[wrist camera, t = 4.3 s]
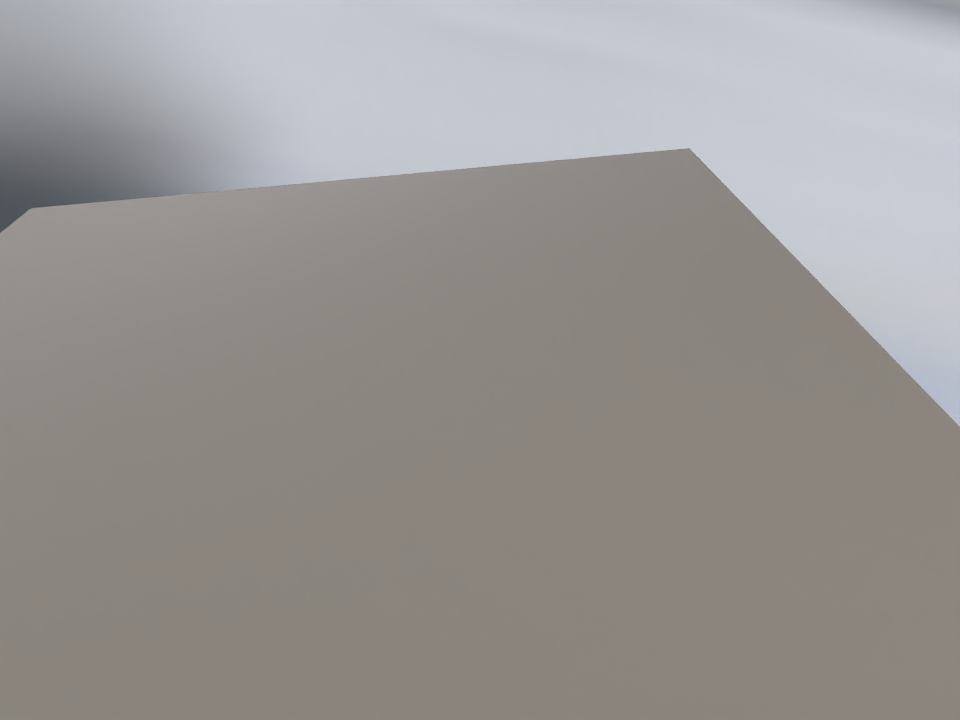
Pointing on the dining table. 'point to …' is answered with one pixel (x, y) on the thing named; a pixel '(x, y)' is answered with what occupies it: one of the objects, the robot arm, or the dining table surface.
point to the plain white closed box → (461, 460)
